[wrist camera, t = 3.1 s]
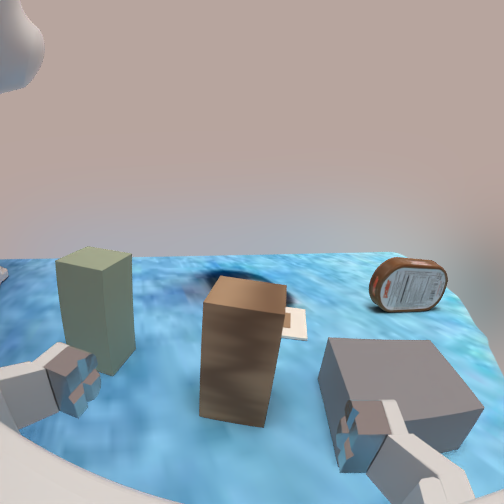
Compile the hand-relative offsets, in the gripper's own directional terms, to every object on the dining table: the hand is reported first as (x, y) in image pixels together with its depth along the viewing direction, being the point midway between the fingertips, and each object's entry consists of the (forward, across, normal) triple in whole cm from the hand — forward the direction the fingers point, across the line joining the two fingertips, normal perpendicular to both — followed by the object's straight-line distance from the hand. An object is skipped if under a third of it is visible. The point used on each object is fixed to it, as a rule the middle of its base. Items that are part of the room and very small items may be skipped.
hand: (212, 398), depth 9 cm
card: (+28, -2, +11) cm, 31 cm away
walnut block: (+12, 0, +11) cm, 17 cm away
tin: (+37, -23, +12) cm, 45 cm away
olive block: (+14, +14, +11) cm, 23 cm away
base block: (+13, -13, +12) cm, 21 cm away
